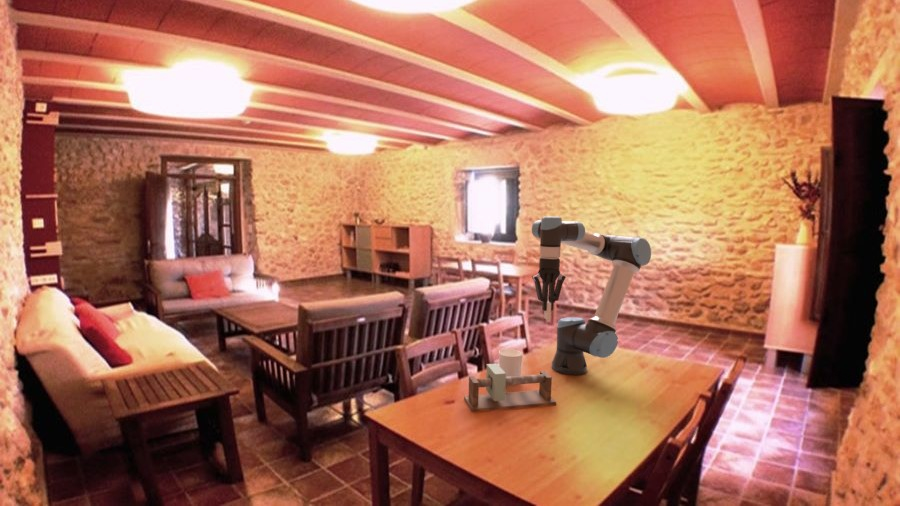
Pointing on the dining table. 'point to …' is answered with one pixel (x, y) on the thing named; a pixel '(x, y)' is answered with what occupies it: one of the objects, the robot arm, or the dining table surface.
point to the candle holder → (510, 362)
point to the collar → (496, 382)
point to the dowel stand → (511, 393)
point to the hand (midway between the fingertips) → (547, 318)
